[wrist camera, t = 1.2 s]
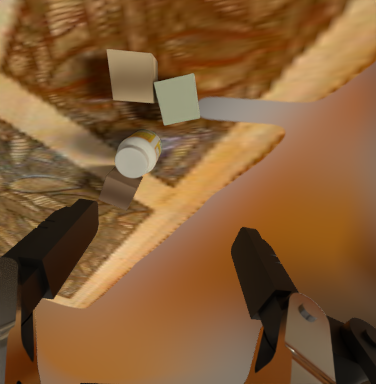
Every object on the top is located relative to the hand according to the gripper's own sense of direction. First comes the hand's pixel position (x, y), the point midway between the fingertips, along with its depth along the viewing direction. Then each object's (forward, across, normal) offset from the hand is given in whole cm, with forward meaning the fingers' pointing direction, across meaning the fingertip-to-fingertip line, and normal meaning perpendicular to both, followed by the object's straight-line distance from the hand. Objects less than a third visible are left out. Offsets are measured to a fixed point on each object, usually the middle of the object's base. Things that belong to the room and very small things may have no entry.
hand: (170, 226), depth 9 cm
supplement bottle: (+22, +5, +2) cm, 23 cm away
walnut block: (+22, +9, +10) cm, 26 cm away
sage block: (+22, +1, -6) cm, 23 cm away
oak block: (+22, +7, -7) cm, 24 cm away
